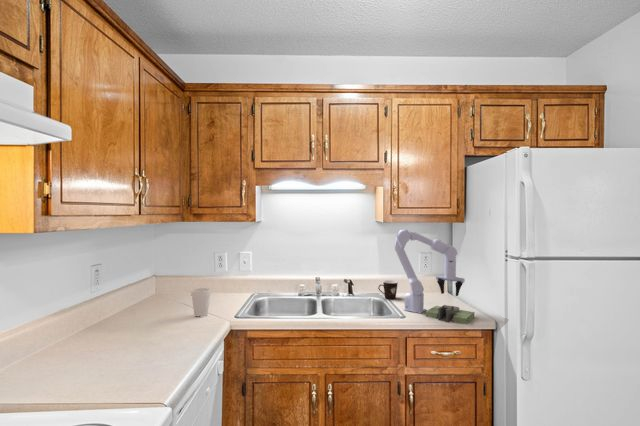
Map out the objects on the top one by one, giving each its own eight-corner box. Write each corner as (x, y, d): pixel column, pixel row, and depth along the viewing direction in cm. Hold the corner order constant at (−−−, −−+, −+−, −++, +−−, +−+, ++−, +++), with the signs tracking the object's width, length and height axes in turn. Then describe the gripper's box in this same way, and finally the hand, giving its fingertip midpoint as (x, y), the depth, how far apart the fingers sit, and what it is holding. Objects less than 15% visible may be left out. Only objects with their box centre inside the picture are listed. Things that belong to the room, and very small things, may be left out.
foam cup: (201, 311, 205) (201, 287, 204) (214, 314, 200) (214, 289, 200) (187, 316, 197) (187, 290, 196) (200, 319, 192) (200, 292, 191)
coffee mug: (396, 296, 240) (396, 280, 240) (398, 300, 232) (398, 283, 231) (377, 296, 241) (377, 280, 241) (378, 299, 233) (378, 283, 233)
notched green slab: (425, 316, 199) (425, 308, 199) (435, 310, 210) (436, 302, 210) (465, 323, 187) (465, 315, 187) (474, 317, 198) (474, 309, 198)
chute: (438, 320, 192) (438, 308, 192) (444, 316, 199) (444, 304, 199) (448, 322, 189) (448, 310, 189) (453, 318, 196) (454, 306, 196)
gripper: (466, 269, 205) (466, 295, 205) (439, 266, 214) (439, 291, 214) (462, 271, 199) (461, 297, 200) (434, 268, 208) (434, 293, 208)
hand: (449, 294), depth 206 cm, fingers open, 7 cm apart
